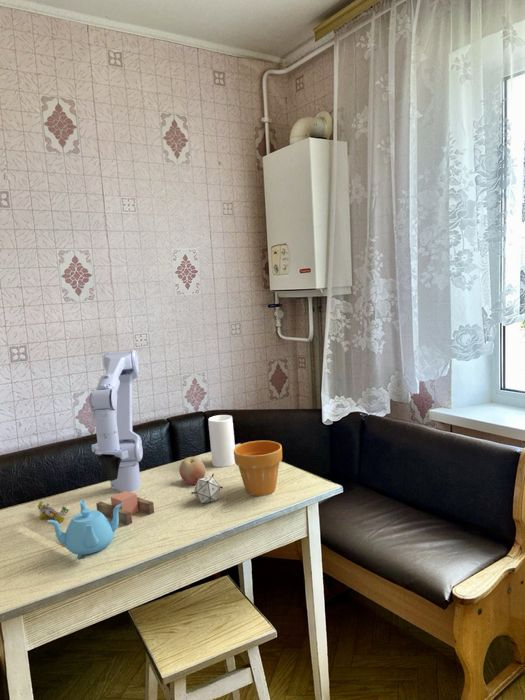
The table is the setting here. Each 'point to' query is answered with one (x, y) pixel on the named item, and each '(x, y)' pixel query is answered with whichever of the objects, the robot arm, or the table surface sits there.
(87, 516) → the teapot
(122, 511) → the chute
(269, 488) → the flower pot
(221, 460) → the white tall cylinder
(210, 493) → the game die
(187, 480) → the fruit
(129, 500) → the block
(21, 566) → the table surface
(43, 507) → the toy
